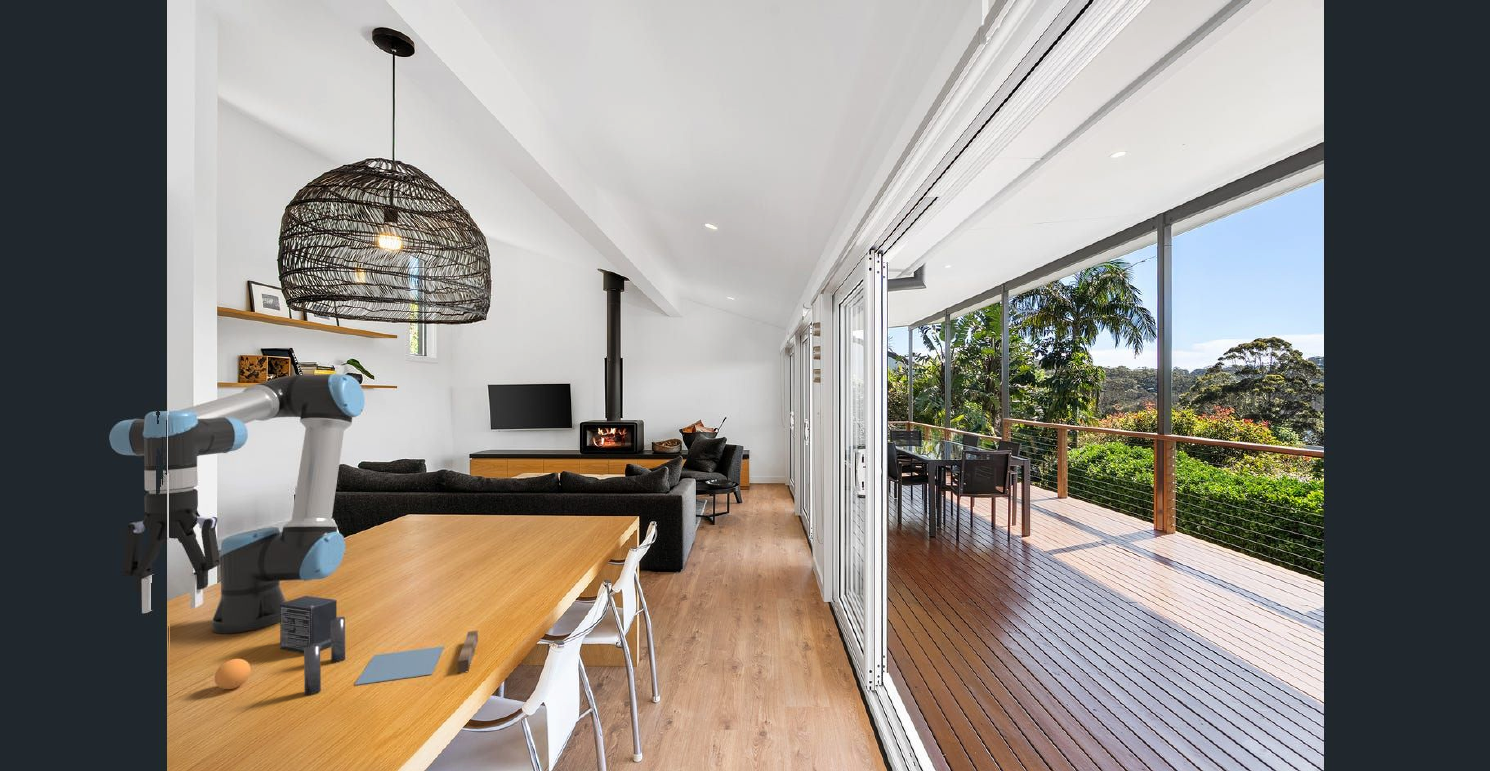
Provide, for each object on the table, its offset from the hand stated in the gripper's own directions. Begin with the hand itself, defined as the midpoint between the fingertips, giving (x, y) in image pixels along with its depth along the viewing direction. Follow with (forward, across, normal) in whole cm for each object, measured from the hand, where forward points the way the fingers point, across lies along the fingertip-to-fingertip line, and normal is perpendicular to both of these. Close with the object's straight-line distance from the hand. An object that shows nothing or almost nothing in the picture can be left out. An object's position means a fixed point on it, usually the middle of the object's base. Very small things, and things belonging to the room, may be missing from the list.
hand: (173, 608), depth 118 cm
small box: (+17, +16, +18) cm, 30 cm away
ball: (+14, +10, 0) cm, 17 cm away
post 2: (+17, +26, +7) cm, 32 cm away
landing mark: (+17, +40, 0) cm, 43 cm away
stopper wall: (+17, +52, 0) cm, 55 cm away
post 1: (+17, +26, -7) cm, 32 cm away
